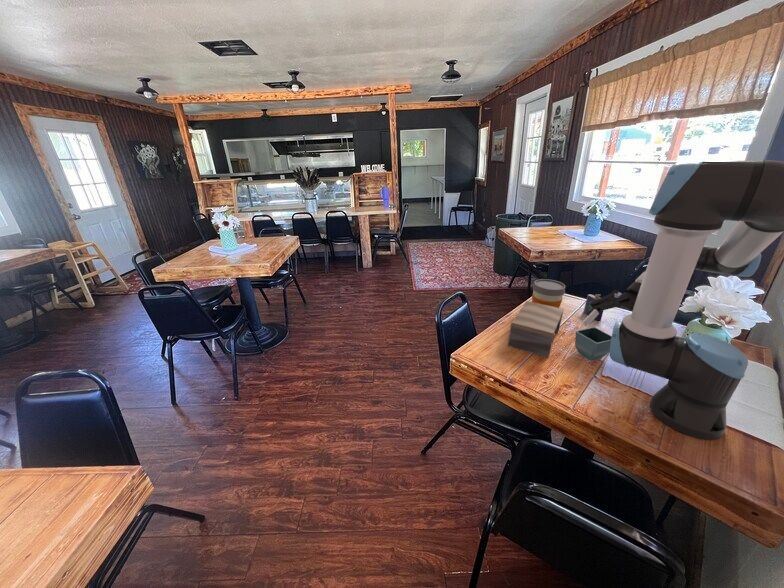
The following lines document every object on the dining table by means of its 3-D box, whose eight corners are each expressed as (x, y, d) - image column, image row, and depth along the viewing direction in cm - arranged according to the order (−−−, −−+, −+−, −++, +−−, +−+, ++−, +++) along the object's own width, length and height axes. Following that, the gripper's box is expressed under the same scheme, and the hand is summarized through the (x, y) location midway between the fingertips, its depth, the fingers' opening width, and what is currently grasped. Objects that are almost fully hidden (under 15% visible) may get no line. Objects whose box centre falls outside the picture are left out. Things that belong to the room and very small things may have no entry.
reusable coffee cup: (541, 306, 148) (547, 277, 141) (565, 318, 137) (572, 286, 131) (522, 312, 143) (527, 282, 137) (545, 324, 132) (551, 292, 126)
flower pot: (588, 347, 117) (594, 326, 113) (610, 360, 109) (617, 338, 105) (569, 351, 114) (575, 330, 111) (590, 366, 107) (597, 343, 103)
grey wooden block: (548, 357, 111) (553, 333, 107) (508, 345, 119) (511, 322, 114) (558, 330, 128) (563, 308, 123) (523, 321, 135) (526, 300, 131)
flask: (581, 312, 142) (587, 290, 138) (587, 311, 142) (593, 290, 138) (597, 322, 134) (603, 299, 129) (603, 321, 134) (609, 298, 130)
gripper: (688, 309, 99) (639, 358, 101) (615, 281, 120) (575, 322, 122) (683, 296, 95) (631, 347, 97) (608, 270, 117) (567, 312, 119)
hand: (600, 333), depth 110 cm, fingers open, 13 cm apart
